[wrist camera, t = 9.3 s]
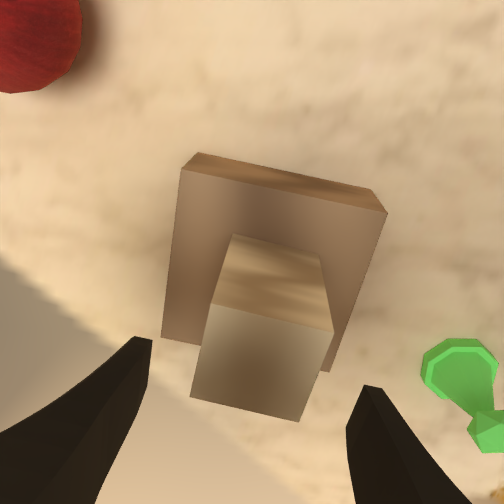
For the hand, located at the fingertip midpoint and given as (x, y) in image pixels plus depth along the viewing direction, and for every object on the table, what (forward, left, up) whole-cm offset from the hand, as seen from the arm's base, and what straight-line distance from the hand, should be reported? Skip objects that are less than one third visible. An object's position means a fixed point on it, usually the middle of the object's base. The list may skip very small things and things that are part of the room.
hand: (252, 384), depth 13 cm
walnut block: (0, -1, -10) cm, 10 cm away
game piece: (-13, +4, -10) cm, 17 cm away
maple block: (0, -1, -6) cm, 6 cm away
